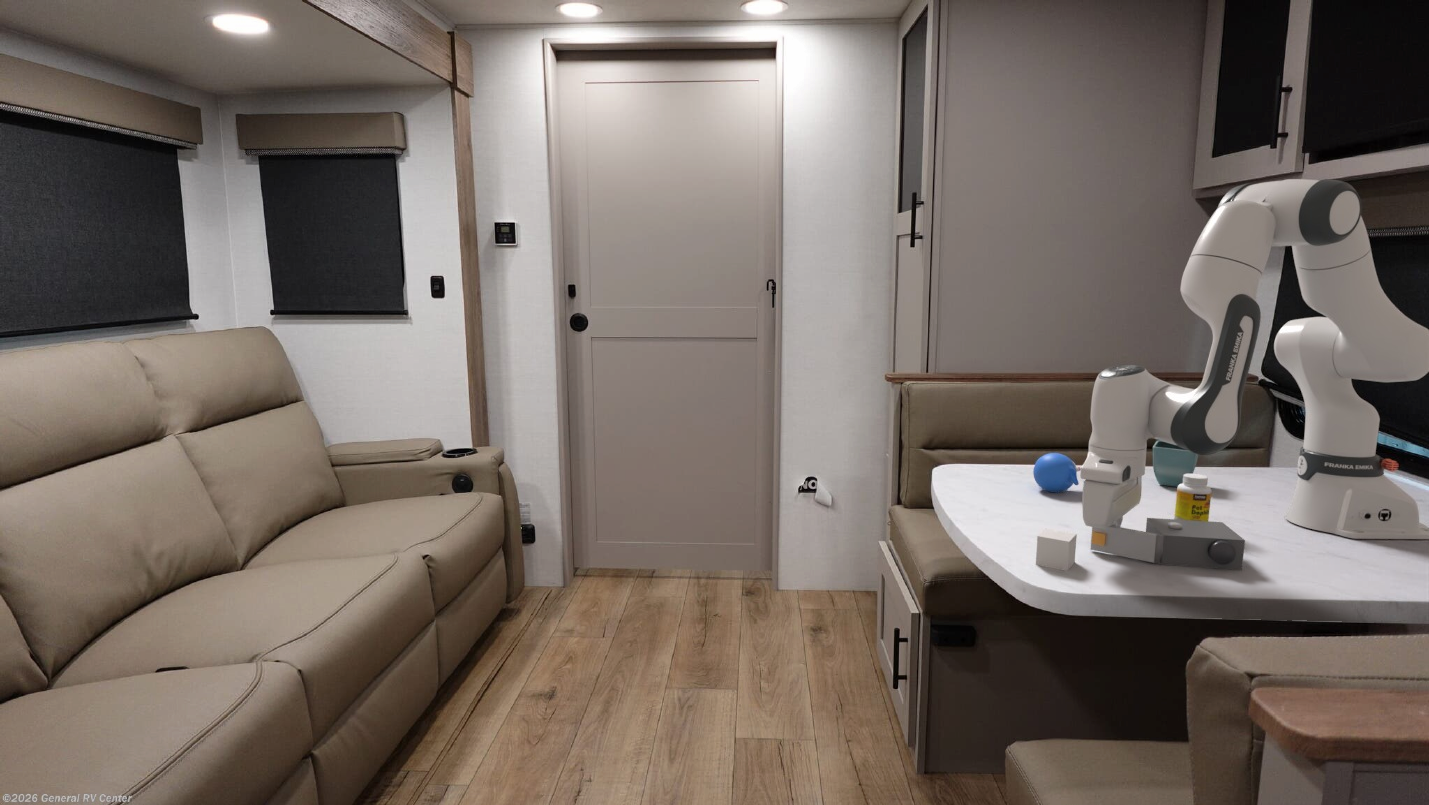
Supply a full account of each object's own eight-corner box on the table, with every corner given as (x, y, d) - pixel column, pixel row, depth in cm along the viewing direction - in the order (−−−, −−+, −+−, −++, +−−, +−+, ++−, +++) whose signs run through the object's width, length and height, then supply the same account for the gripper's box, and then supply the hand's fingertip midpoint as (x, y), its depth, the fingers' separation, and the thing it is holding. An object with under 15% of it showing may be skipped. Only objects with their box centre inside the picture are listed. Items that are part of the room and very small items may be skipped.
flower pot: (1196, 483, 195) (1200, 444, 193) (1194, 491, 187) (1197, 451, 186) (1153, 478, 199) (1156, 439, 198) (1149, 486, 192) (1152, 446, 190)
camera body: (1219, 550, 149) (1222, 518, 148) (1245, 573, 138) (1249, 539, 137) (1144, 545, 151) (1147, 514, 151) (1164, 567, 140) (1167, 534, 139)
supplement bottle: (1188, 534, 158) (1194, 480, 156) (1166, 525, 163) (1171, 473, 161) (1214, 532, 159) (1220, 478, 157) (1191, 523, 164) (1196, 471, 162)
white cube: (1074, 562, 143) (1076, 533, 142) (1067, 571, 139) (1069, 541, 138) (1043, 556, 146) (1045, 528, 145) (1035, 565, 142) (1037, 536, 141)
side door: (1092, 548, 149) (1094, 522, 148) (1160, 562, 142) (1163, 535, 141) (1089, 550, 147) (1091, 524, 147) (1158, 564, 141) (1160, 537, 140)
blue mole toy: (1101, 494, 185) (1104, 455, 184) (1061, 500, 180) (1064, 461, 179) (1057, 481, 196) (1059, 445, 194) (1018, 487, 191) (1020, 449, 189)
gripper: (1115, 448, 155) (1111, 522, 158) (1076, 470, 140) (1072, 552, 142) (1153, 453, 151) (1148, 529, 154) (1117, 476, 136) (1112, 560, 138)
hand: (1111, 540), depth 148 cm, fingers closed
